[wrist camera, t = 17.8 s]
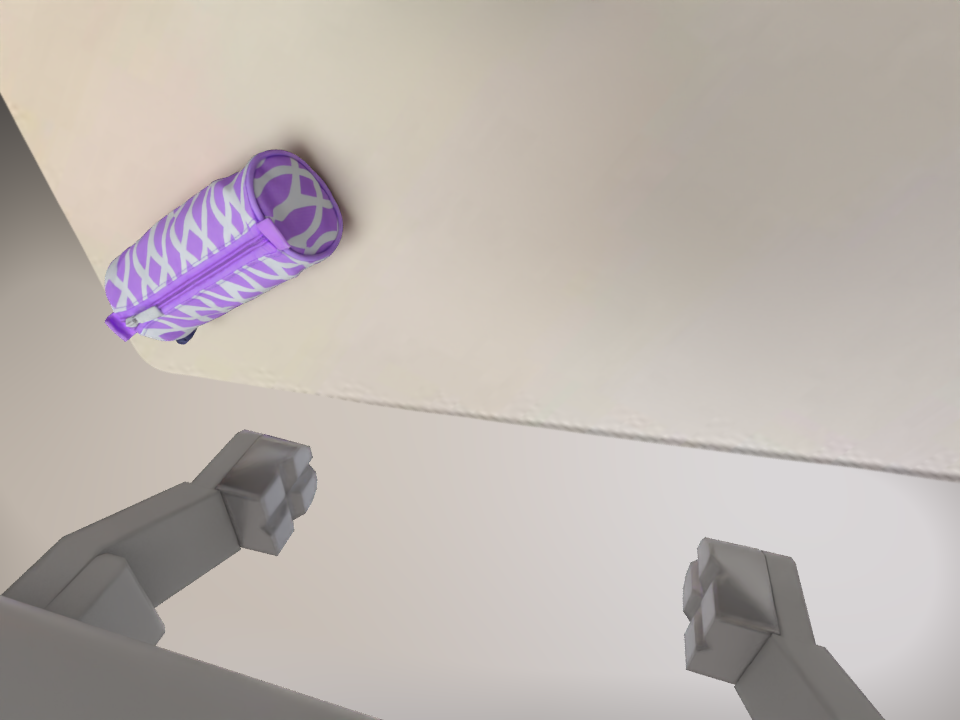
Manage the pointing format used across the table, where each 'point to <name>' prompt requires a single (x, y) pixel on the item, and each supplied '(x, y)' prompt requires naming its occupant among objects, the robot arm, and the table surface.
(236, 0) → the table surface
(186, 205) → the pencil case
